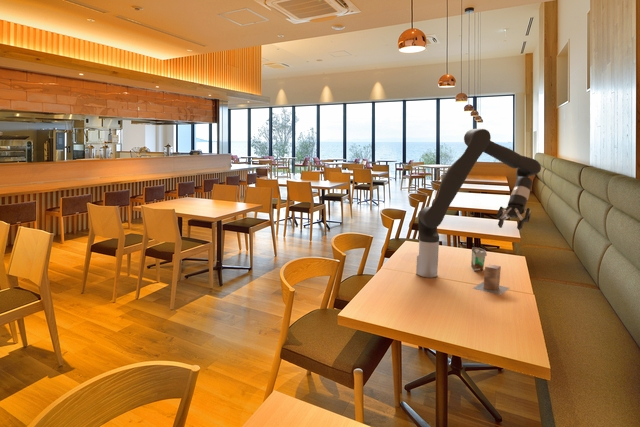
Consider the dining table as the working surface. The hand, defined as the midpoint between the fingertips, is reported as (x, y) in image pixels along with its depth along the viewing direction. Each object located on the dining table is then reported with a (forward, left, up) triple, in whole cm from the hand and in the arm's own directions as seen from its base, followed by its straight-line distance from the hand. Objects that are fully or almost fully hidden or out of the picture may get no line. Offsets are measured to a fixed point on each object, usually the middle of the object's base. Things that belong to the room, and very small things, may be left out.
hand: (509, 228), depth 188 cm
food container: (-16, +9, -25) cm, 31 cm away
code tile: (-1, -15, -25) cm, 29 cm away
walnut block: (-1, -15, -25) cm, 29 cm away
